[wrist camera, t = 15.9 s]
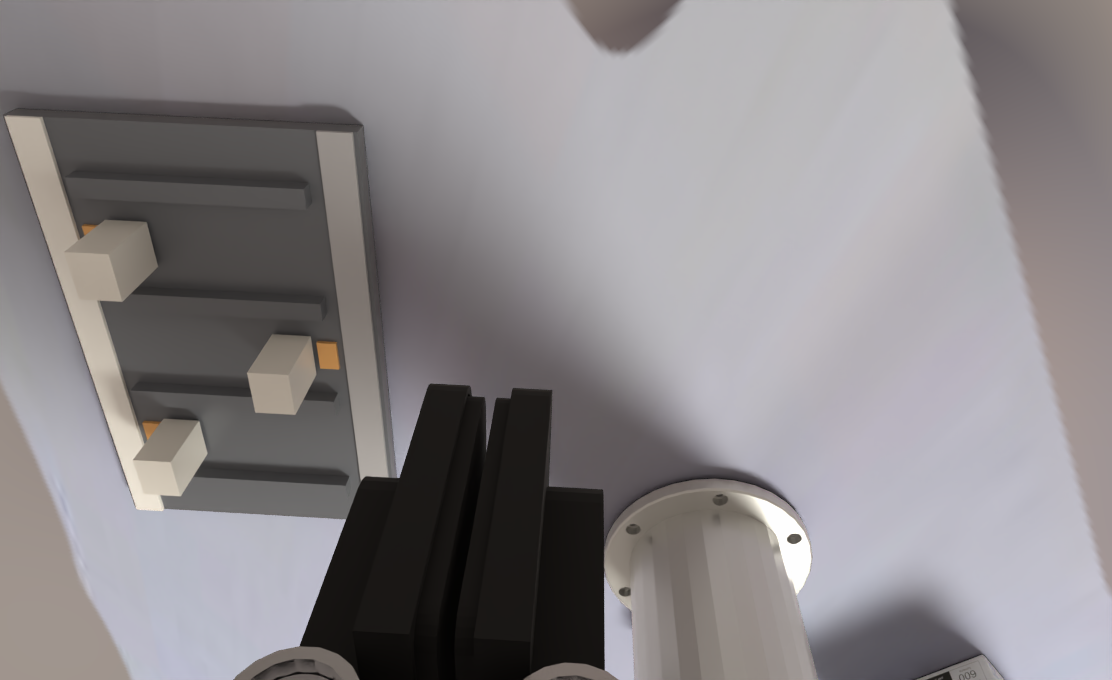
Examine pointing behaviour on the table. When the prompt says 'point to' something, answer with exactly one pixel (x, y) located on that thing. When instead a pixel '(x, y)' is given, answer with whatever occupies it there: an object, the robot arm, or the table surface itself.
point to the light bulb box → (967, 671)
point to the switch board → (225, 295)
